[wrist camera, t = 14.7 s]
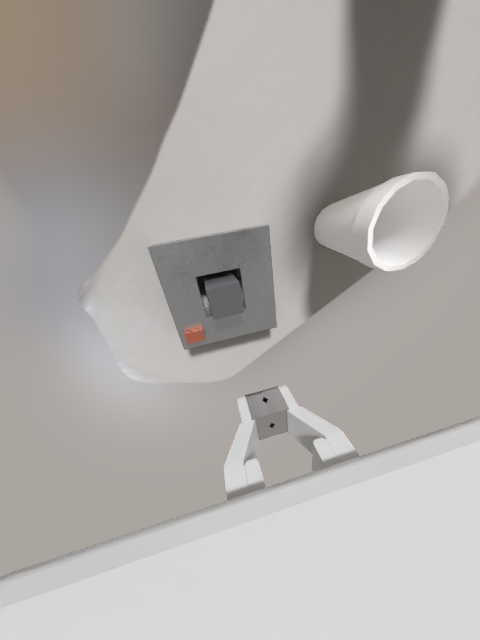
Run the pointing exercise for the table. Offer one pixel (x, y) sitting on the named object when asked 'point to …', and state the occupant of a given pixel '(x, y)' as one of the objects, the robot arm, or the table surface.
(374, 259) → the foam cup
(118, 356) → the table surface
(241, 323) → the socket
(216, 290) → the plug
